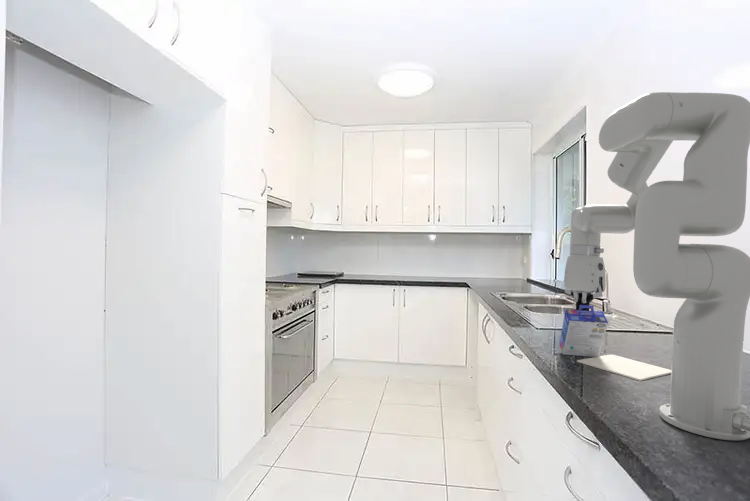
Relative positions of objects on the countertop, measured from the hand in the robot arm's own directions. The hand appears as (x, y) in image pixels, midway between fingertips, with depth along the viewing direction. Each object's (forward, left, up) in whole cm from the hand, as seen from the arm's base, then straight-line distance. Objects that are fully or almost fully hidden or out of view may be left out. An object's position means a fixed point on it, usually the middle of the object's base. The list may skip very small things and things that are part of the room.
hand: (582, 316), depth 115 cm
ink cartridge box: (+1, 0, -10) cm, 10 cm away
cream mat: (-12, 0, -11) cm, 16 cm away
